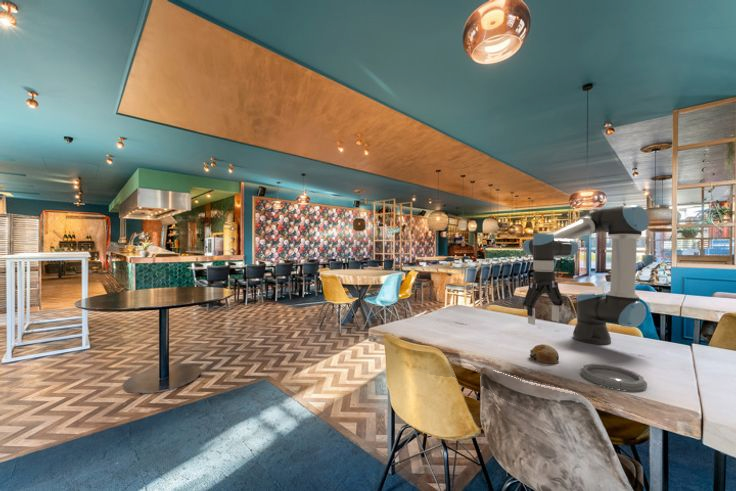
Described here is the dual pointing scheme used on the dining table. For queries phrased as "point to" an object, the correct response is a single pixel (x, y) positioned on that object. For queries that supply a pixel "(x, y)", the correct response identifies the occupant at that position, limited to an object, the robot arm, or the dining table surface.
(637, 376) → the slate plate
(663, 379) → the dining table surface
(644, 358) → the dining table surface
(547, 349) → the bread roll
